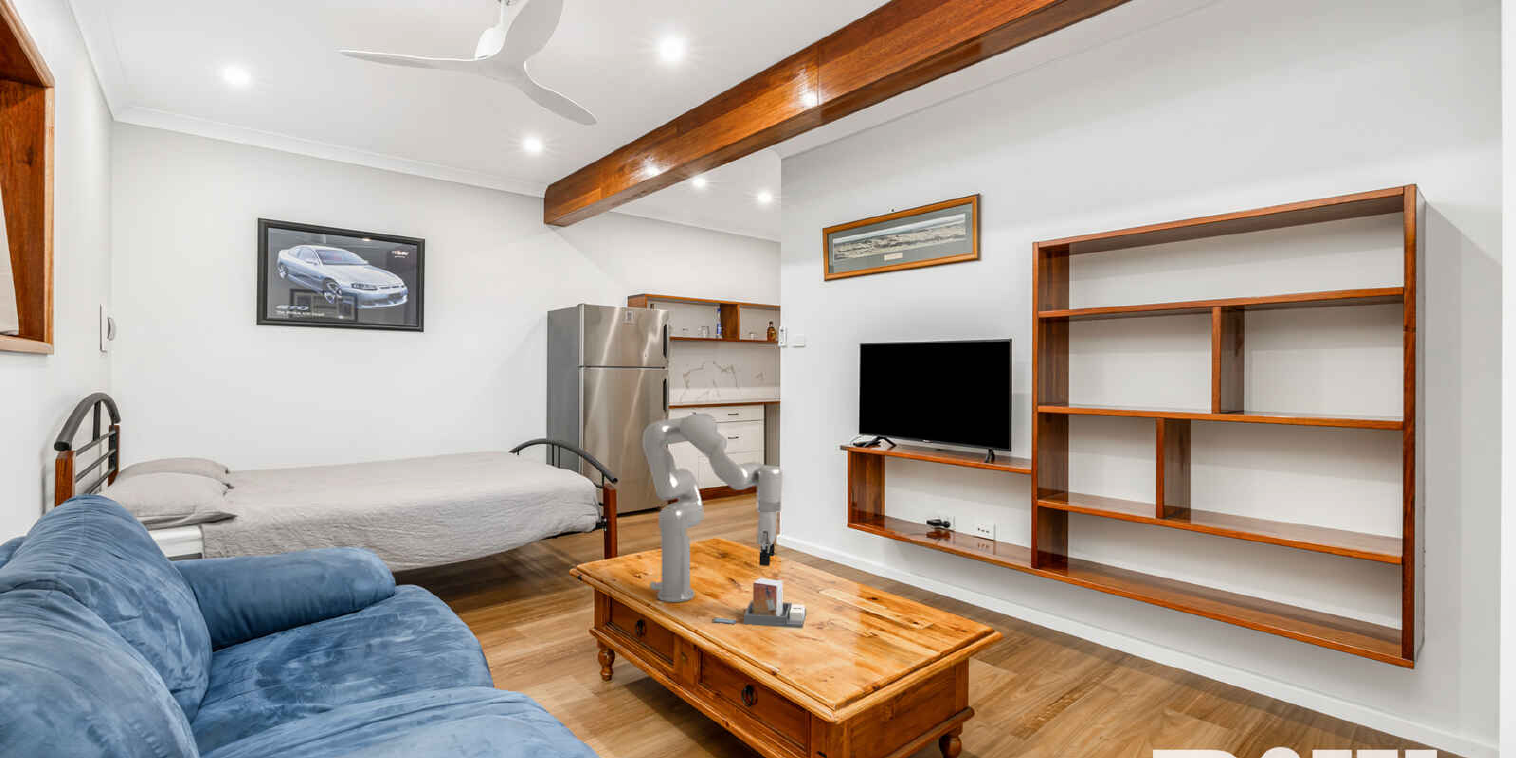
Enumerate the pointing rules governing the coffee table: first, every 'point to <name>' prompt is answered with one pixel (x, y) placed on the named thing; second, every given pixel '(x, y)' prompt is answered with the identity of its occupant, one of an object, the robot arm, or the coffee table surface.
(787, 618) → the grey tray
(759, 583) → the small box
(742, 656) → the coffee table surface
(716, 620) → the phone
